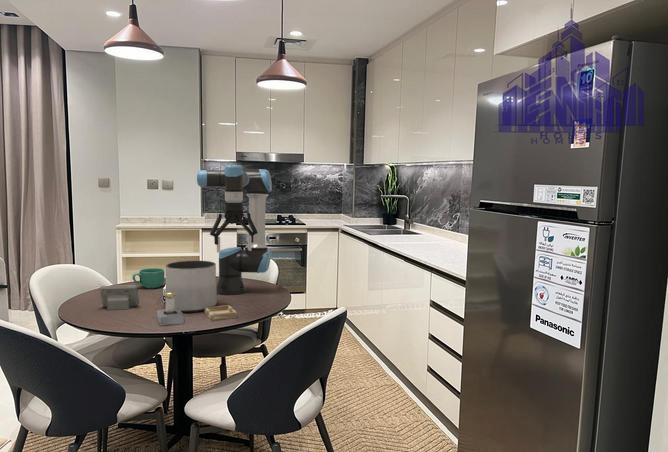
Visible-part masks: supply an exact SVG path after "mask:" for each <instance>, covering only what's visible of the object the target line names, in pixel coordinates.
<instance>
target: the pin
mask: <svg viewBox="0 0 668 452" xmlns="http://www.w3.org/2000/svg"><path fill="white" fill-rule="evenodd" d="M162 295H163V296H164V298H165V299H164V301H165V303H164V304H165V309H166V315H167V314H175V301H174V296H175V295H176V292H175V291H168V292H166V291H164V292H162Z"/></svg>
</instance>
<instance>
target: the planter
mask: <svg viewBox="0 0 668 452" xmlns="http://www.w3.org/2000/svg"><path fill="white" fill-rule="evenodd" d="M216 286H217V264H216V263H215V262H213V261H210V260H182V261H181V260H180V261H174V262H170V263H168V264H165V292H168V291H175V292H176V295H175V296H174V301H175V308H179V309H180V310H181V312H182V313H197V312H205V307H214V306H217V305H216V304H217V299H218V298H217V296H218V293H216Z"/></svg>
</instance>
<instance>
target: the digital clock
mask: <svg viewBox="0 0 668 452" xmlns="http://www.w3.org/2000/svg"><path fill="white" fill-rule="evenodd" d="M99 292H100V298H101V305H102V307H103V308H107V309H106V310H107V311H118V310H119V311H120V310H121V311H123V310H125V311H126V310H129V309H131V307H137V306H139V305H140V299H139V298H140V296H139V291H138V286H137V285H135V284H128V285H127V284H126V285H123V284H122V285H121V284H119V285H100V286H99Z"/></svg>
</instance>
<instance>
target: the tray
mask: <svg viewBox="0 0 668 452" xmlns="http://www.w3.org/2000/svg"><path fill="white" fill-rule="evenodd" d="M204 314H205V315H206V316H207V318H208V319H209V320H210V321H211V322H215V321H220V320H221V321H222V320H231V319H238V312H237V311H236V310H235V309H234V308H233V307H232V306H231V305H230V304H227V305H226V304H225V305H215V306H214V307H205V310H204Z"/></svg>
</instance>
